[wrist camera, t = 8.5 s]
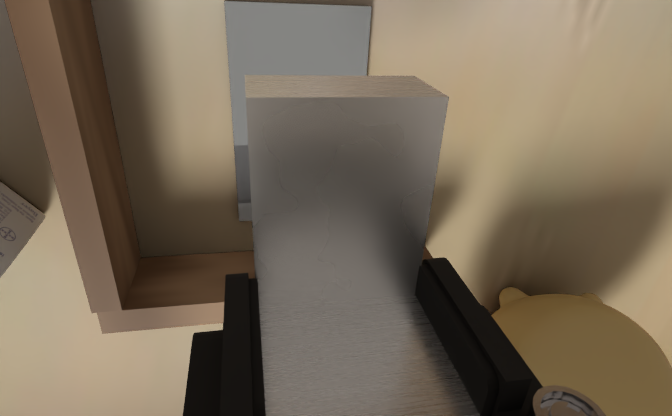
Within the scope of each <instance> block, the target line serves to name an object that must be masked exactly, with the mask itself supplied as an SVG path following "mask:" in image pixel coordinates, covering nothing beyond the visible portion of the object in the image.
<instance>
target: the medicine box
mask: <svg viewBox="0 0 672 416" xmlns="http://www.w3.org/2000/svg"><path fill="white" fill-rule="evenodd" d="M44 218H45V215H44V214H43V213H42V212H41V211H40V210H38V209H37V208H35V207H34V206H33V205H31V204H30V203H29V202H27V201H26V200H25V199H23V198H22V197H21V196H19V195H18V194H16V193H15V192H14V191H12V190H11V189H10V188H8V187H7V186H6V185H4V184H3V183H2V182H0V277H1V276H2V275H3V274H4V272H5V271H6V270H7V268H8V267H9V266H10V265H11V263H12V262H13V261H14V259H15V258H16V257H17V255H18V254H19V253H20V251H21V250H22V249H23V248H24V246H25V245H26V244H27V242H28V241H29V239H30V238H31V237H32V235H33V234H34V233H35V231H36V230H37V229H38V227H39V226H40V224H41V223H42V222H43V220H44Z"/></svg>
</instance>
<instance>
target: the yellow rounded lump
mask: <svg viewBox="0 0 672 416" xmlns="http://www.w3.org/2000/svg"><path fill="white" fill-rule="evenodd" d="M499 302H500V309H499V310H497V311H496V312H495V313H493V314H492V315H491V316H492V317H493V319H494V320H495V321H496V323H497V324H498V325H499V327H500V328H501V330H502V331H503V332H504V334H505V335H506V336H507V338H508V339H509V341H510V342H511V343H512V345H513V346H514V347H515V349H516V350H517V352H518V353H519V354H520V356H521V357H522V358H523V360H524V361H525V363H526V364H527V365H528V367H529V368H530V369H531V371H532V372H533V374H534V375H535V376H536V378H537V379H538V380H539V382H540V383H541V385H542V386H543V387H545V386H551V385H558V386H564V387H568V388H571V389H573V390H576V391H578V392H580V393H582V394H583V395H585V396H587V397H589V398H590V399H591V400H592V401H593V402H595V403H596V404H597V405H598V406H599V407H600V408H601V410H602V411H603V412H604V413H605V415H606V416H672V368H671V365H670V363H669V361H668V359H667V358H666V356H665V354H664V353H663V351H662V350H661V348H660V347H659V345H658V344H657V343H656V342H655V340H654V339H653V338H652V337H651V336H650V335H649V334H648V333H647V332H646V331H645V330H644V329H643V328H642V327H640V326H639V325H638V324H637V323H636V322H634V321H633V320H632V319H630V318H629V317H627V316H626V315H624V314H623V313H621V312H619V311H617V310H616V309H614V308H612V307H610V306H607V305H605V304H603V302H602V301H601V299H600V298H599V297H598V296H596V295H594V294H591V293H584V294H581V295H580V296H576V295H569V294H542V295H534V296H528V295H526V294H525V293H523V292H522V291H520V290H519V289H517V288H514V287H507V288H505V289H503V290H502V291H501V292H500V295H499Z"/></svg>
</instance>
